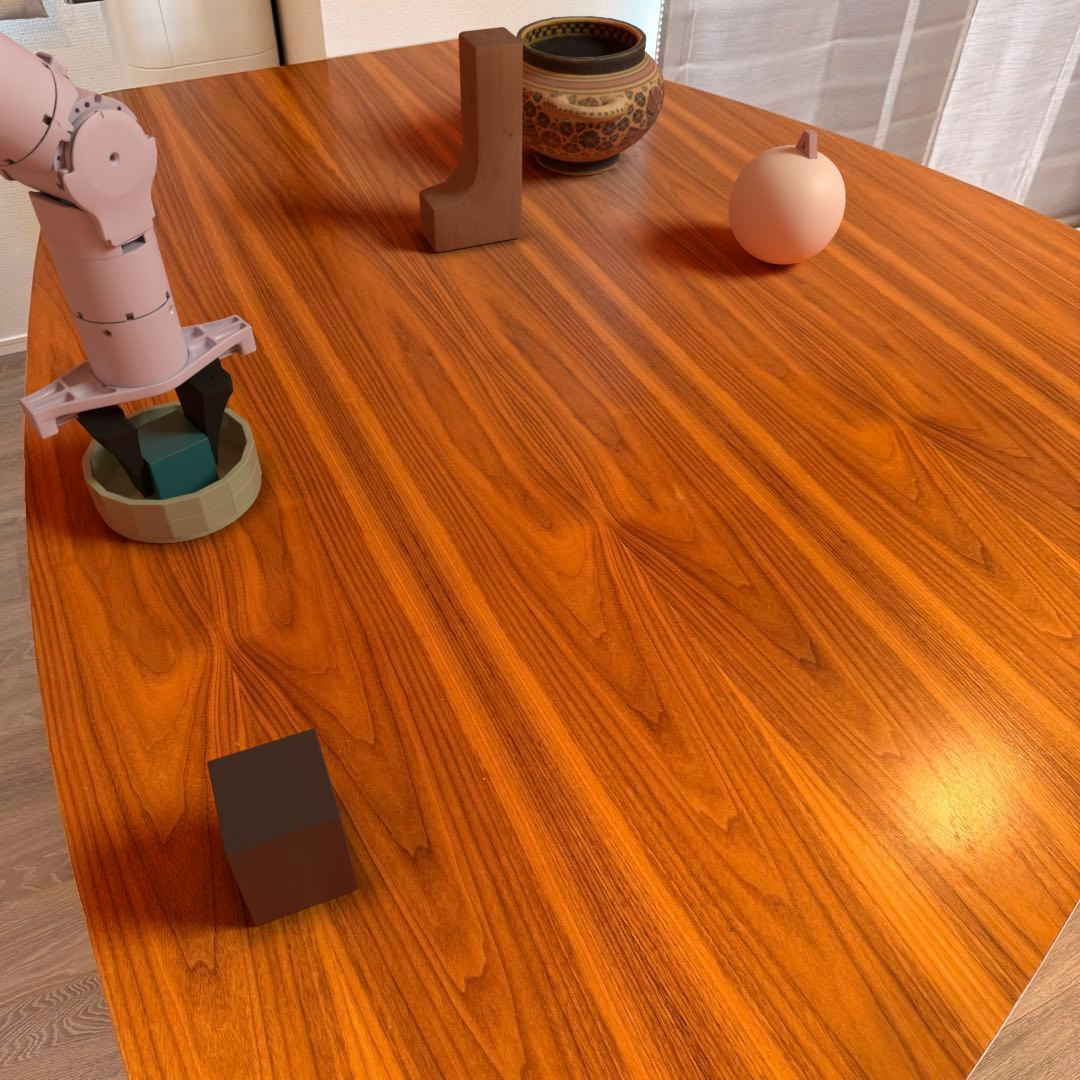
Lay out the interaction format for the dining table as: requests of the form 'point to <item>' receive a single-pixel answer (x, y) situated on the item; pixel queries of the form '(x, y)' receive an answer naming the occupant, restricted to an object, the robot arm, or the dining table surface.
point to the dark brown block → (282, 826)
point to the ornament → (787, 202)
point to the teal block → (176, 456)
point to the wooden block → (482, 149)
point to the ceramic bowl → (586, 91)
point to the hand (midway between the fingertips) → (176, 473)
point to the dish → (182, 513)
